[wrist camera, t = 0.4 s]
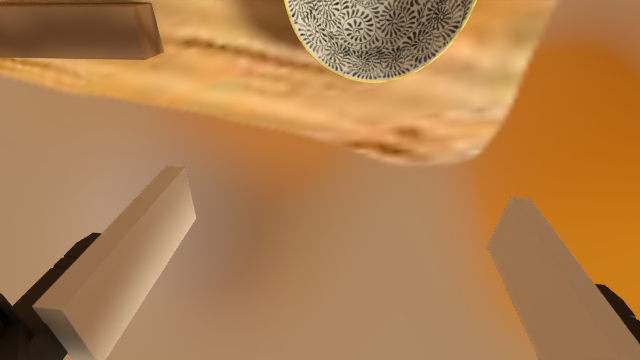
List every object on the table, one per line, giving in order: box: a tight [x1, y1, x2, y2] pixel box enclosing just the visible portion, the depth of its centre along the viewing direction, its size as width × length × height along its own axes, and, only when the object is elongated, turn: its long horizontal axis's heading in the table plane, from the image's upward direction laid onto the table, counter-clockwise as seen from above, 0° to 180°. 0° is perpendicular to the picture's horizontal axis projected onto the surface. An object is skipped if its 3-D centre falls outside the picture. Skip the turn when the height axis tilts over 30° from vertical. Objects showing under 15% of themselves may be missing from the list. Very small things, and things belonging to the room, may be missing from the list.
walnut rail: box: [0, 3, 164, 60], centre depth 35 cm, size 5×18×4 cm, turn 90°
